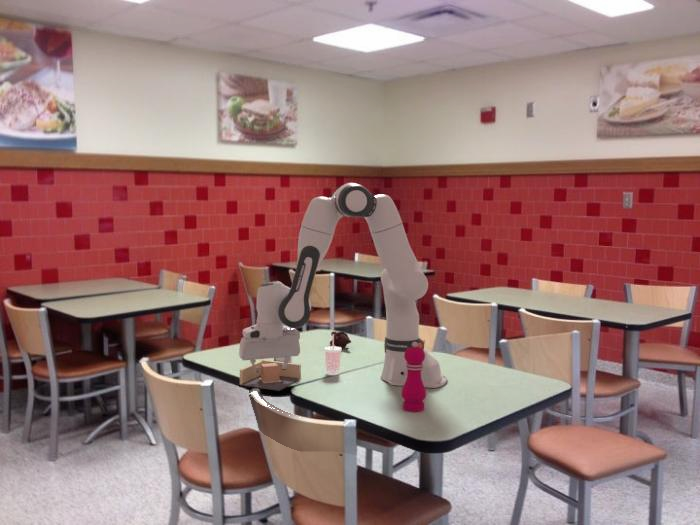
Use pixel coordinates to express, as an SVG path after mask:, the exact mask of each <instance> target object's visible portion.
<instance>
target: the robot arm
mask: <svg viewBox="0 0 700 525" xmlns="http://www.w3.org/2000/svg"><path fill="white" fill-rule="evenodd" d="M344 217H346V218H364V219H365V221H366V223H367V225H368V229H369V232H370V235H371V237H372V240H373V245H374V248H375V250H376V253H377V256H378V257H379V259H380V260H381V262H382V264H383V266H384V268H383V270H382V272H381V274H380V281H381V286H382V289H383V298H384V299H383V300H384V305H385V312H386V313H385V314H386V322H385V323H386V325H385V326H386V327H385V329H386V333H385V334H386V335H385V337H384V344H383V345H384V346H383V349H384V354H385V355H384V362H383V367H382V371H381V375H380V380H383V381H385V382H387V383H388V384H389V385H391V386H400V387H401V386H402V387H403V386H404V384H405V382H406V379H407V373H408V371H407V368H406V363H407V361H406V360H405V358H404V354H405V351H406V350H407V349H408V348H409V347H413V346H412V343H413V342H417V343H418V346H417V347H419V348H421V349H423V351H424V353H425V359H424V361H423V362H422V363H423V369H422V370H421V379H422V382H423V385H424V387H425V388H429V389H437V388H441V387H443V386H444V385H445V384H447V383H448V377H447V376H446V375H445V374H442V370H441V366H440V363H439V361H438V360H437V359H436V358H435V357H434V356H432V355H431V354H430V353H429V352H428V351H427V350H425V344H426V340H425V339H424V340H422V339H421V338H420V337H419V336H420V334H419V333H420V332H419V330H420V314H419V311H418V308H417V304H416V300H419V299H421V298H423V297H424V296H425V295H426V293H427V291H428V289H429V281H428V278H427V277H426V275H425V273H424V271H423V270H422V267H421V265H420V263H419V262H418V260H417V258H416V256H415V253H414V251H413V249H412V247H411V244H410V243H409V242H410V241H409V240H408V236H407V234H406V231H405V227H404V224H403V221H402V218H401V215H400V213H399V210H398V208H397V206H396V204H395V202H394V200H393V199H392V197H391V196H389V195H388V194H381V193H380V194H375V195H374V194H373V193H372V192H370V190H368V188H366V186H363V185H362V184H359V183H357V182H356V183H355V182H346V183H344V184H342V185H340V186H338V187H337V188H336V189H335V190H334V191H333V192H332V193H331V194H330V195H329V196H328V197H327V196H316V197H314V198H312V199H311V201H310V202H309V204H308V206H307V209H306V211H305V213H304V214H303V219H302V221H301V225H300V230H299V233H298V239H297V240H298V241H297V263H296V267H295V272H294V276H293V279H292V282H291V286H290V287H289V286H288V285H285V284H284V283H283V282H281V281H279V280H272V281H267V282H264V283H261V284H260V285H259V286H258V288H257V292H256V306H255V307H256V312H257V317H256V324H253V325H251V326H248V327H246V328H243V329H242V336H243V337H241V339H240V341H239V342H240V343H239V349H238V350H239V352H238V357H239V358H240V359H241V361H249V363H250V365H252V366H253V371H254V373H257V372H259V367H258V366H255V364H254V363H256V362H257V360H267V359H274V358H279V357H284V359H285V361H284V363H283V364H281V370H286V365H287V364H288V362H289V360H290V356H292V357H298V356H299V355H300V353H301V348H300V339H301V334H300V330H298V328H300V327H303V326H304V325H306V324H307V323H308V321H309V319H310V317H311V311H312V301H311V297H310V294H311V290H312V288H313V283H314V280H315V276H316V272H317V270H318V269H319V266H320V264H321V263H322V261H323V259H324V258H325V257H326V255H327V253H328V251H329V248H330V246H331V245H332V240H333V238H334V236H335V230H336V226H337V225H338V223H339V220H340V219H342V218H344ZM283 324H285V325H286V326H288V327H291V328H292V329H283Z"/></svg>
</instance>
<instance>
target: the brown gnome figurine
mask: <svg viewBox="0 0 700 525" xmlns="http://www.w3.org/2000/svg"><path fill="white" fill-rule="evenodd" d="M333 334H334V346H336V347H341V348H342V349H345V348H346V347H347V345H348V344H351V343H352V341H351V339H350V337H349V336H348V335H349V334H348V333H346V332H345V331H338V332H337V331H331V334H330V335H331V336H332V338H331V339H333ZM329 341H330V342H329V345H330V346H332V340H329Z"/></svg>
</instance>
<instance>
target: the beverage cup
mask: <svg viewBox="0 0 700 525" xmlns="http://www.w3.org/2000/svg"><path fill="white" fill-rule="evenodd" d="M332 338H333V339H332ZM332 338H331V339H332V345H329V346H325V347H324V348H323V349H324V354H325V373H326V375H328V376H337V375H340V369H341V368H340V367H341V355H342V349H343V348H341V347H336V346H335V345H334V334H333V336H332Z"/></svg>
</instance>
